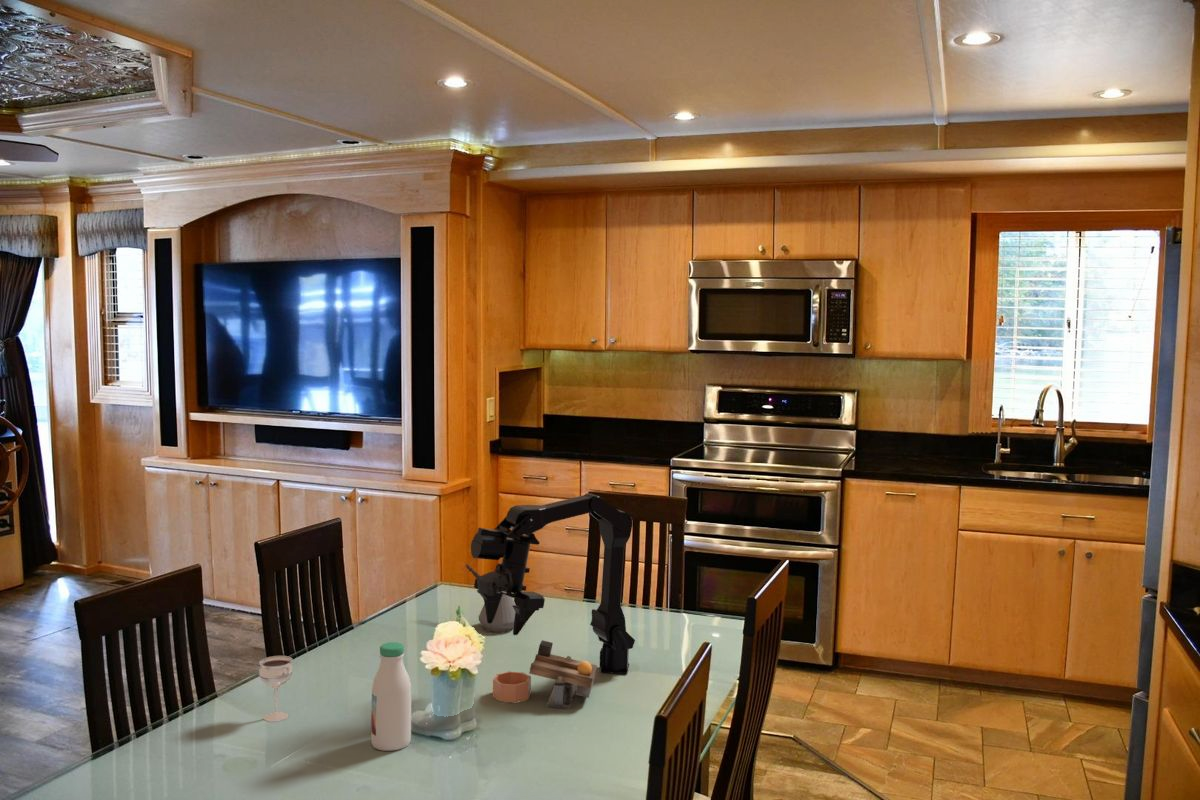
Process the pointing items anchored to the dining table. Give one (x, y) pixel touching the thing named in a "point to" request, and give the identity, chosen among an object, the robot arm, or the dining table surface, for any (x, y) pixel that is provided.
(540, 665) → the lever
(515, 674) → the terracotta octagonal container
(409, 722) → the milk bottle
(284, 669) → the wineglass
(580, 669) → the ball
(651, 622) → the dining table surface
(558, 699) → the stand
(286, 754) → the dining table surface
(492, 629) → the coffee pot
